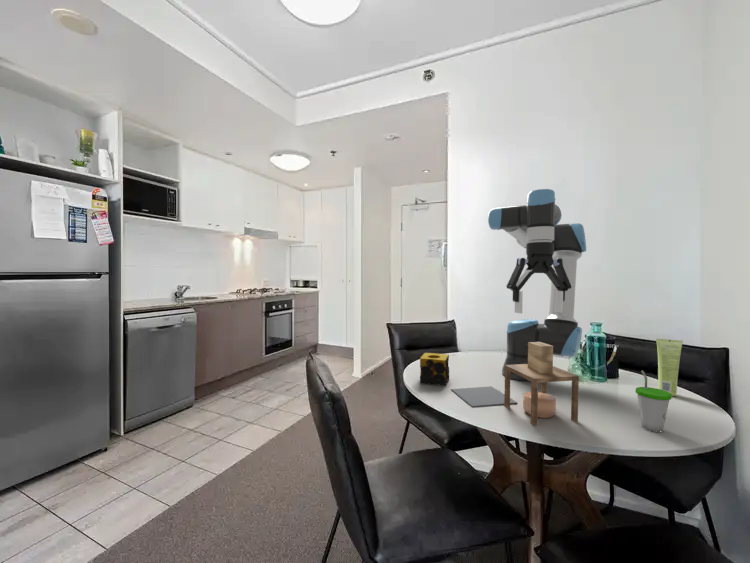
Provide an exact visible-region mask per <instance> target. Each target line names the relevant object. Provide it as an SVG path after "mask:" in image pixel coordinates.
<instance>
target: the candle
mask: <svg viewBox="0 0 750 563" xmlns="http://www.w3.org/2000/svg"><path fill="white" fill-rule="evenodd" d="M449 359H450V354H447V353H446V354H445V353H437V352H436V353H434V352H424V353H423V354H422V355H421V356H420V358H419V368H420V372H419V374H420V376H419V383H420V384H424V385H432V386H433V385H434V386H441V387H445V386H447V384H448V382H449V380H450V367H449Z"/></svg>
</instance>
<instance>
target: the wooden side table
mask: <svg viewBox="0 0 750 563" xmlns="http://www.w3.org/2000/svg"><path fill="white" fill-rule="evenodd" d="M553 359H554V355H553V346H552V345H548V344H545V343H542V342H528V364H515V365H505V376H504V394H505V395H504V407H505V408H510V407H511V404H510V398H511V378H510V371H511V372H513V373H515V374H517V375H519V376H521V377H523V378H525V379H527V380H529V381H528V382H530V386H531V387H530V392H531V415H530V424H531V425H532V426H538V417H537V409H538V392H539V384H540V392H541V393H546V394H548V393H547V392H548V390H547V388H548V387H547V386H548V383H555V382H570V381H571V401H570V403H571V408H570V413H571V414H570V420H571V421H572V422H575V423H577V422H579V385H580V383H579V382H580V381H579V380H580V376H579V375H577V374H574V373H572V372H569V371H566V370H564V369H561V368H559V367H556V366H554V360H553Z"/></svg>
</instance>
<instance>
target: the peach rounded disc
mask: <svg viewBox="0 0 750 563" xmlns="http://www.w3.org/2000/svg"><path fill="white" fill-rule="evenodd" d="M522 397H523V399H522V401H523V402H522V409H523V410H524V411H525V412H526V413H527V414H528V415H529V416H531V391H527V392H524V393H523V395H522ZM556 414H557V398H556V397H555V396H554V395H551V394H549V393H547V394H546V393H541V391H538V409H537V418H540V419H541V418H542V419H548V418H549V419H550V418H551V417H553V416H555V415H556Z"/></svg>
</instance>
